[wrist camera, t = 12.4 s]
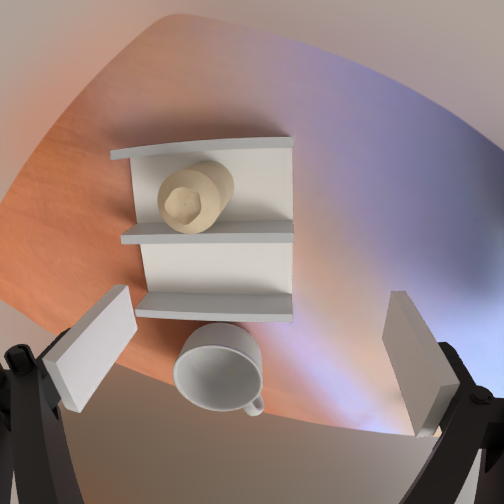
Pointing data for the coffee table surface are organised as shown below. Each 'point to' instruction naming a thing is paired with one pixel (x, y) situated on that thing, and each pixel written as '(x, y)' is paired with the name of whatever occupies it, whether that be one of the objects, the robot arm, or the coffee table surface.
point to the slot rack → (217, 233)
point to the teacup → (221, 369)
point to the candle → (195, 196)
